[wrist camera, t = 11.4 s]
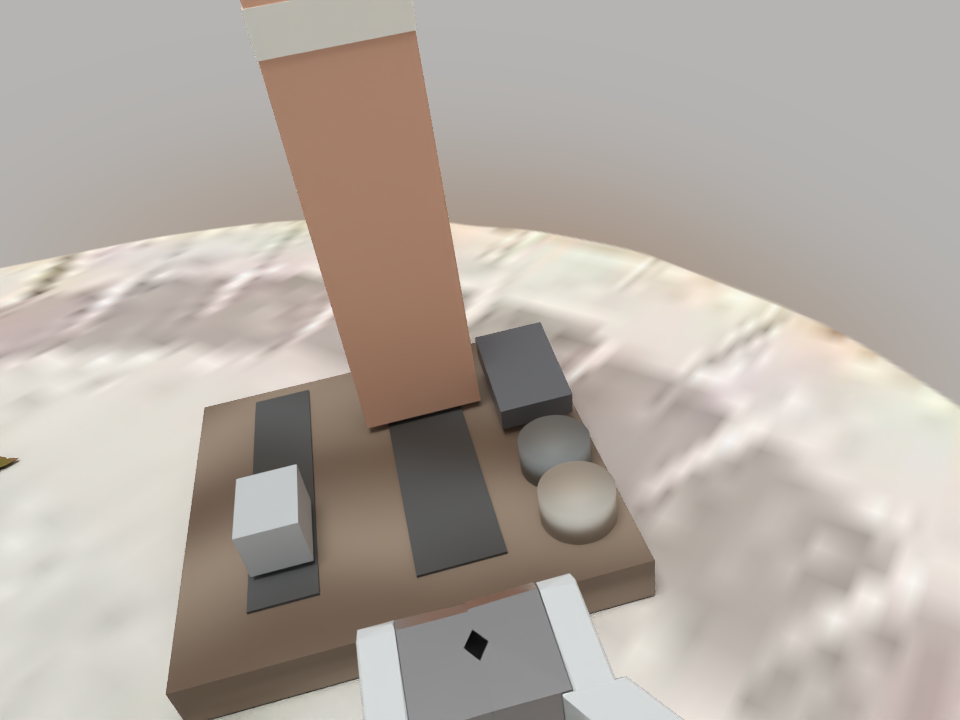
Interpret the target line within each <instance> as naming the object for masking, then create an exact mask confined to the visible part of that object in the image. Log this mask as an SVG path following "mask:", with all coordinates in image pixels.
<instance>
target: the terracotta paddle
mask: <svg viewBox="0 0 960 720" xmlns="http://www.w3.org/2000/svg"><path fill="white" fill-rule="evenodd" d="M240 1H241V4H242V7H241V13H242V16H243V19H244V23H245V26H246V29H247V32H248V36H249V39H250V42H251V46H252V49H253V53H254V56H255V59H256V62H259V65H260V68H261V72H262V75H263V78H264V81H265V85H266V88H267V91H268V95H269V99H270V102H271V105H272V109H273V112H274V115H275V119H276V122H277V125H278V129H279V132H280V135H281V139H282V142H283V145H284V149H285V152H286V156H287V159H288V162H289V166H290V169H291V172H292V176H293V179H294V182H295V186H296V189H297V193H298V196H299V199H300V202H301V206H302V209H303V212H304V216H305V219H306V223H307V226H308V230H309V233H310V236H311V240H312V243H313V246H314V250H315V253H316V256H317V260H318V263H319V266H320V270H321V273H322V277H323V280H324V283H325V287H326V290H327V293H328V297H329V300H330V303H331V307H332V310H333V314H334V317H335V320H336V324H337V327H338V330H339V334H340V337H341V340H342V344H343V347H344V350H345V354H346V357H347V361H348V364H349V367H350V371H351V374H352V377H353V381H354V384H355V387H356V391H357V394H358V397H359V401H360V404H361V408H362V411H363V414H364V418H365V421H366V424H367V428H371V427H375V426H379V425H383V424H388V423H392V422H396V421H400V420H404V419H408V418H412V417H416V416H420V415H424V414H428V413H432V412H436V411H440V410H444V409H448V408H452V407H456V406H460V405H464V404H468V403H473V402H477V401H481V400H480V394H479V388H478V383H477V377H476V371H475V366H474V360H473V354H472V349H471V343H470V337H469V332H468V326H467V320H466V315H465V309H464V303H463V298H462V292H461V286H460V281H459V275H458V269H457V263H456V258H455V252H454V246H453V241H452V235H451V229H450V224H449V218H448V213H447V207H446V201H445V195H444V190H443V184H442V178H441V173H440V168H439V162H438V156H437V150H436V145H435V139H434V133H433V127H432V123H431V116H430V110H429V105H428V99H427V94H426V88H425V82H424V76H423V71H422V65H421V59H420V54H419V48H418V43H417V37H416V31H415V30H417V24H416V18H415V13H414V7H413V2H412V0H240Z"/></svg>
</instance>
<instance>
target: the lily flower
mask: <svg viewBox="0 0 960 720" xmlns="http://www.w3.org/2000/svg"><path fill="white" fill-rule="evenodd" d="M17 459H19V458H9V459H7V458H5V457H0V467H3V466H5V465H7V464H9V463H11V462H13V461H15V460H17Z"/></svg>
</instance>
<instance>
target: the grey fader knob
mask: <svg viewBox="0 0 960 720" xmlns="http://www.w3.org/2000/svg"><path fill="white" fill-rule="evenodd" d="M232 541H233V543H234V545H235V547H236V549H237V551H238V553H239V555H240V557H241V559H242V561H243V563H244V565H245V567H246V569H247V571H248V573H249V575H250V577H253V576H257V575H261V574H264V573H268V572H272V571H276V570H280V569H283V568H287V567H291V566H295V565H299V564H303V563H306V562H310V561H314V556H313V534H312V513H311V500H310V497H309V495H308V492H307V490H306V487H305V485H304V482H303V479H302V477H301V474H300V472H299V469H298V466H297V464H295V465H291V466H287V467H283V468H279V469H275V470H271V471H267V472H263V473H259V474H255V475H251V476H247V477H243V478H239V479H236V490H235V504H234V518H233V532H232Z"/></svg>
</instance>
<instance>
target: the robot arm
mask: <svg viewBox="0 0 960 720" xmlns="http://www.w3.org/2000/svg"><path fill="white" fill-rule="evenodd" d="M356 647H357V658H358V668H359V679H360V690H361V700H362V711H363V720H684V719H682V718H681V717H680V716H678V715H677V714H676V713H674V712H673V711H672V710H670V709H669V708H668V707H666V706H665V705H664V704H662V703H661V702H660V701H658V700H657V699H656V698H654V697H653V696H652V695H650V694H649V693H648V692H647V691H645V690H644V689H643V688H641V687H640V686H639V685H637V684H636V683H635V682H633V681H632V680H631V679H629V678H628V677H627V676H626V677H621V678H617V679H615V676H614V674H613V671H612V669H611V666H610V664H609V661H608V659H607V656H606V654H605V651H604V649H603V647H602V644H601V642H600V639H599V637H598V634H597V632H596V629H595V627H594V624H593V622H592V619H591V617H590V614H589V612H588V609H587V607H586V605H585V602H584V600H583V597H582V595H581V592H580V590H579V587H578V585H577V582H576V580H575V579H574V577H573V576H572V575H571V574H570V573H568V574H564V575H561V576H557V577H554V578H550V579H547V580H543V581H540V582H536V583H535V584H534V582H532V583H528V584H525V585H521V586H518V587H514V588H511V589H507V590H504V591H500V592H497V593H493V594H490V595H486V596H483V597H479V598H476V599H472V600H469V601H465V603H463V604H459V605H455V606H451V607H447V608H443V609H439V610H434V611H430V612H426V613H422V614H418V615H414V616H410V617H406V618H402V619H398V620H395V621H394V620H393V621H389V622H386V623H382V624H378V625H374V626H371V627H367V628H363V629H359V630H357V639H356Z"/></svg>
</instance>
